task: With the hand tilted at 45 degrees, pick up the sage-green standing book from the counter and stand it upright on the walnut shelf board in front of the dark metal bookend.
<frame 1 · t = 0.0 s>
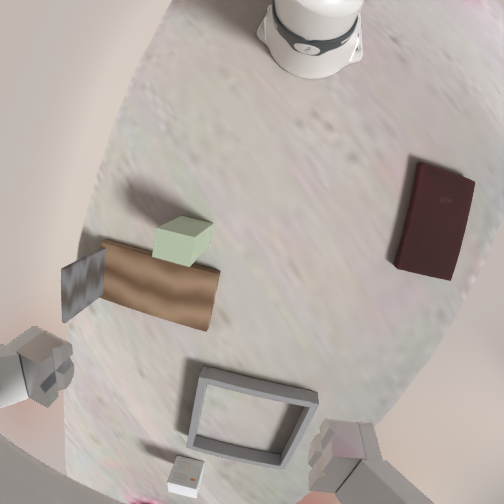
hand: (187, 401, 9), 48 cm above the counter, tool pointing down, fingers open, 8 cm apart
book: (432, 221, 53), on the counter
small box: (190, 463, 75), on the counter
shelf board: (155, 283, 61), on the counter
pot frame: (248, 419, 67), on the counter
green book: (195, 231, 57), on the counter
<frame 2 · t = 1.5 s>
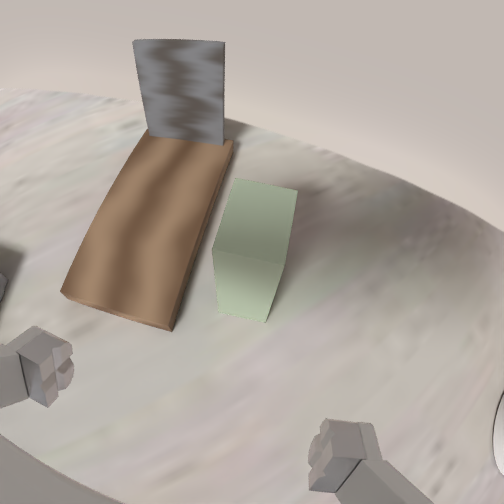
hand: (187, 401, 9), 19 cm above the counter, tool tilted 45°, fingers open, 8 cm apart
shelf board: (155, 215, 35), on the counter
green book: (248, 289, 31), on the counter
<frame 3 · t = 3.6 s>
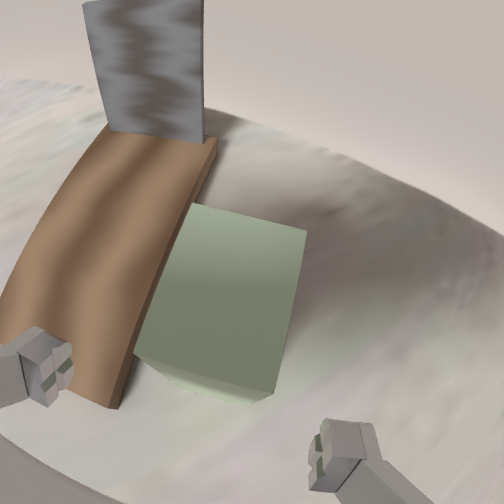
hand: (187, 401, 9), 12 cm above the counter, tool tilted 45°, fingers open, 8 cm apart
shelf board: (105, 240, 25), on the counter
green book: (225, 356, 21), on the counter
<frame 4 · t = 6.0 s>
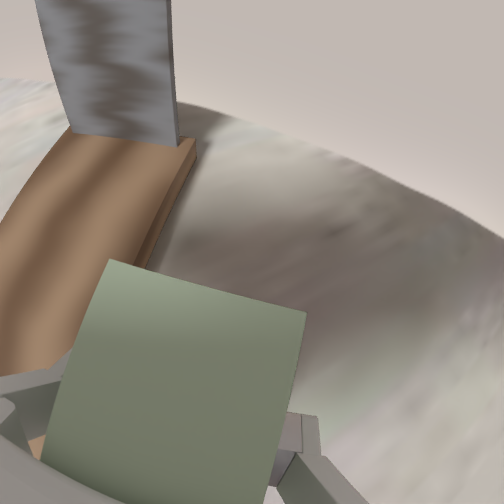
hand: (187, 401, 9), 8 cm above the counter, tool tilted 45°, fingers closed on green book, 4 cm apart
shelf board: (60, 267, 19), on the counter
green book: (200, 418, 16), on the counter, touching gripper
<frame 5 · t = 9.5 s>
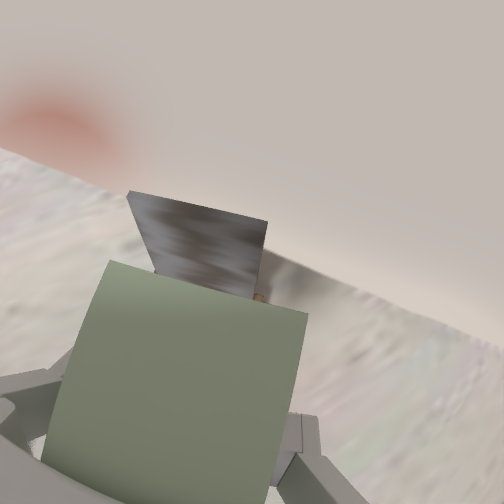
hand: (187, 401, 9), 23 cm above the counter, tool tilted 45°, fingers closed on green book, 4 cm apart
shelf board: (176, 393, 30), on the counter
green book: (200, 419, 16), point 15 cm above the counter, touching gripper
when the fingers open (12 cm above the counter, at t = 13.3 s): green book drops 1 cm, resting on shelf board.
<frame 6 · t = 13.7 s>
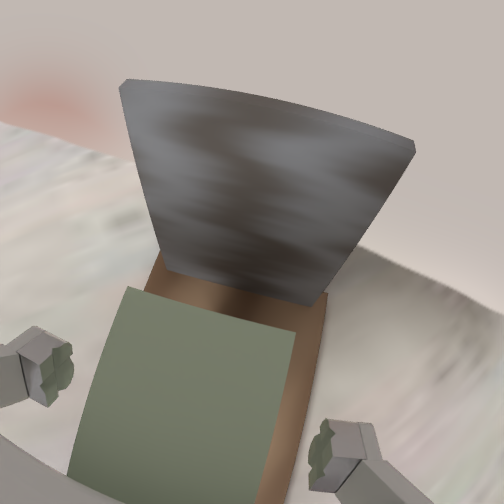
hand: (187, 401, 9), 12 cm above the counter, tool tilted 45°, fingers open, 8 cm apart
shelf board: (196, 445, 18), on the counter
green book: (203, 419, 17), point 2 cm above the counter, touching shelf board
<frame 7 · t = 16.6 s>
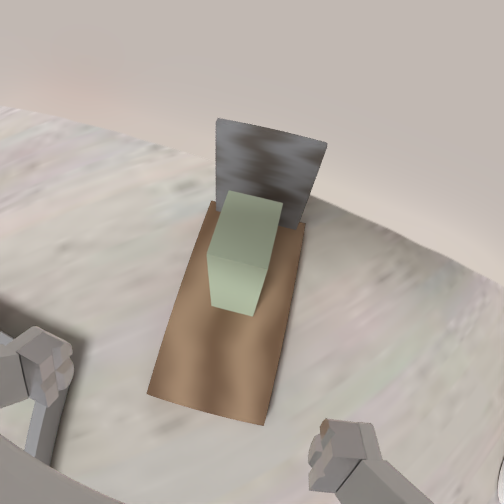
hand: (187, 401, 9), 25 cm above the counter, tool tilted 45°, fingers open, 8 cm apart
shelf board: (232, 307, 36), on the counter
green book: (239, 285, 35), point 2 cm above the counter, touching shelf board
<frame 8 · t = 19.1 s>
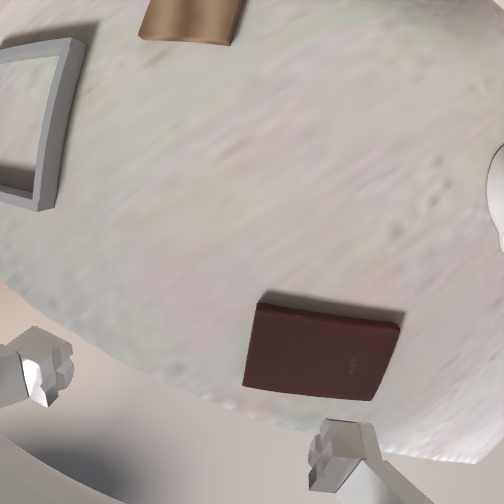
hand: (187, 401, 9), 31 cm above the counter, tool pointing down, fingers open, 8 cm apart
book: (319, 350, 43), on the counter
pot frame: (15, 121, 38), on the counter
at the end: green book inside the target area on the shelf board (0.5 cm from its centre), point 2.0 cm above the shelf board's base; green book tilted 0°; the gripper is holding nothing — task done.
